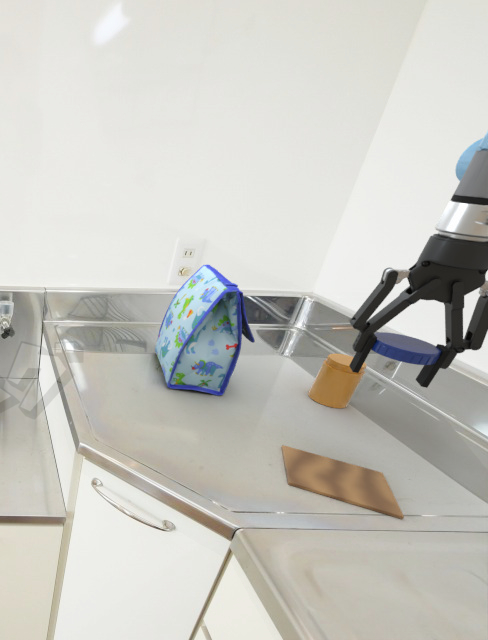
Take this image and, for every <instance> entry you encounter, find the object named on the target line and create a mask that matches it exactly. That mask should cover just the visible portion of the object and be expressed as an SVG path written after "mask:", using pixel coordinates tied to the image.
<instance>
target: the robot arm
mask: <svg viewBox="0 0 488 640" xmlns="http://www.w3.org/2000/svg"><path fill="white" fill-rule="evenodd" d="M455 177H456V178H457V180H458V181H459V183H458V185H457V186H456V189H455V191H454V192H453V194H452V196H451V198H450V200H449V202H448V203H447V206H446V207H445V208H444V210H443V212H442V214H441V216H440V218H439V219H438V221H437V223H436V224H435V226H434V229H435V230H436V231H438V232H437V233H434V234H432V235H430V236H429V238H428V240H427V242H425V243H426V244H425V245H424V247H423V249H422V251H421V253H420V254H419V257H418V258H417V261H416V262H415V263H414V264H413V265H412V266H411V267H410V268H408V269H396V268H395V269H394V268H393V267H386V268H385V269H384V270H383V271H382V274H381V278H380V280H379V283H378V284H377V286H376V287H375V288H374V289H373V290H372V292H371V293H370V294H369V295H368V297H367V298H366V299H365V301H364V302H363V303H362V305H361V306H359V308H358V309H357V311H356V312H355V313H354V314H353V315H352V317H351V318H350V320H349V324H350V325H351V327H352V328H353V329H354V330H357V331H359V332H358V334H357V335H356V338H355V340H354V342H353V344H352V350H353V352H355V354H354V356H353V357H354V358H353V360H352V361H351V363H350V365H349V366H350V368H351V370H352V371H353V372H355V373H359V371H360V369H361V367H362V365H363V363H364V362H365V361H366V360H367V358H368V356H369V354H370V353H371V351H372V350H371V349H372V347H373V345H374V343H375V341H376V340H377V337H376V336H375V333H377V331H379V330H380V329H382V328H383V327H384V326H385V325H386V324H388V323H389V322H390V321H392V320H393V319H395V318H396V317H397V316H398V315H400V314H401V313H402V312H404V311H405V310H406V309H407V308H409V307H410V306H411V305H415V304H416V303H418V302H419V301H420V300H423V301H436V302H439V303H440V304H441V303H443V306H444V328H445V330H444V331H445V345H444V344H439V343H437V344H436V345H435V346H436V347H438V348H439V349H440V350H441V353H440V355H439V358H438V359H437V361H436V363H434V364H432V365H423V366H422V368H421V370H420V372H419V373H418V374H417V376H416V378H415V381H416V382H417V383H418V385H419V386H420V387H422V388H426V389H428V387H429V386H430V384H431V383H432V381H433V380H434V378H435V377H436V375H437V373H438V372H439V371H440V369H442V370H447V369H448V368H449V367H450V366H451V364H452V363H453V361H454V360H455V358H456V356H457V355H458V354H462V353H464V352H465V351H466V350H467V351H468V350H469V351H470V350H471V351H479V350H481V349H482V348H483V344H484V342H485V339H486V336H487V334H488V280H487V278H486V274H487V272H488V130H487V132H485V134H484V136H483V137H482V138H480V139H478V140H476V141H474V142H473V143H471V144H470V145H469V146H468V147H467V148H466V149H465V150H464V151H463V152H462V153H461V155H460V156H459V158H458V159H457V163H456V165H455ZM404 279H407V281H408V284H409V286H407V287H406V288H405V289H404V290H402V291H401V292H400V293H399V295H398V296H397V297H396V298H394V299H393V300H392V301H391V302H389V303H388V304H387V305H385V306H384V307H383V308H382V309H380V310H379V311H378V312H376V310H377V309H378V308H379V307H380V306H381V304H382V303H383V302H384V301H385V300H386V298H387V297H388V296H389V294H390V293H391V292H392V291H393V289H394V287H395V286H396V285H398V284H401V282H402V281H403V280H404ZM478 289H479V290H478ZM476 290H478V294H479V297H478V299H477V300H476V303H475V307H474V310H473V312H472V314H471V318H470V321H469V324H468V327H467V329H466V332H465V334H464V308H465V296H466V295H468V294H470V293H472V292H474V291H476ZM375 312H376V314H374V313H375ZM373 314H374V315H373ZM372 315H373V316H372ZM365 363H366V362H365Z"/></svg>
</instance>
